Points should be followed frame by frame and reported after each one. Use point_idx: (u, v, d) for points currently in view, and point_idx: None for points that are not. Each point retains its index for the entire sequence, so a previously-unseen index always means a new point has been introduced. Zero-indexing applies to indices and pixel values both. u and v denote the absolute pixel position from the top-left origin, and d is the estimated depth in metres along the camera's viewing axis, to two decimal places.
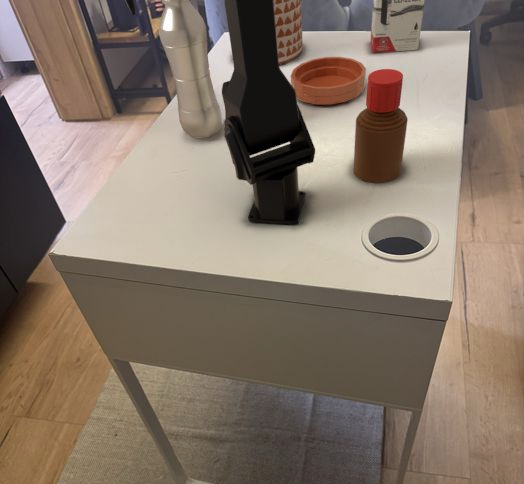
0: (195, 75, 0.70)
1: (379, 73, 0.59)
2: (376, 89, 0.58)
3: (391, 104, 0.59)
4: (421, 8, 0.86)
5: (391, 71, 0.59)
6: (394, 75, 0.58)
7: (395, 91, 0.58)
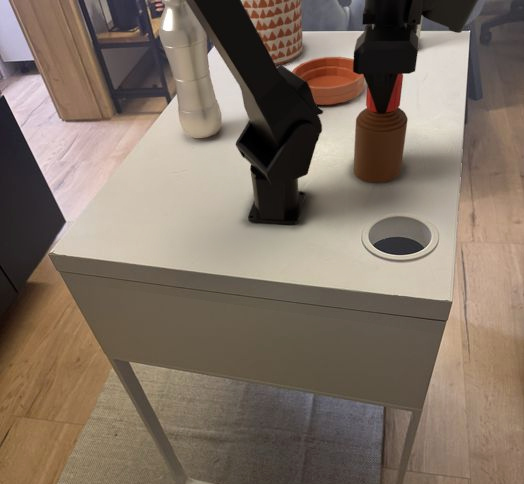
0: (195, 75, 0.70)
1: None
2: None
3: (391, 104, 0.59)
4: None
5: None
6: None
7: (395, 91, 0.58)
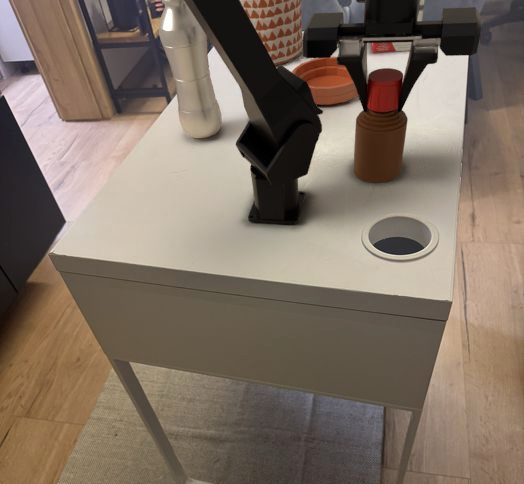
0: (195, 75, 0.70)
1: (378, 78, 0.58)
2: (400, 84, 0.58)
3: None
4: (421, 8, 0.86)
5: (375, 73, 0.59)
6: (385, 71, 0.59)
7: None
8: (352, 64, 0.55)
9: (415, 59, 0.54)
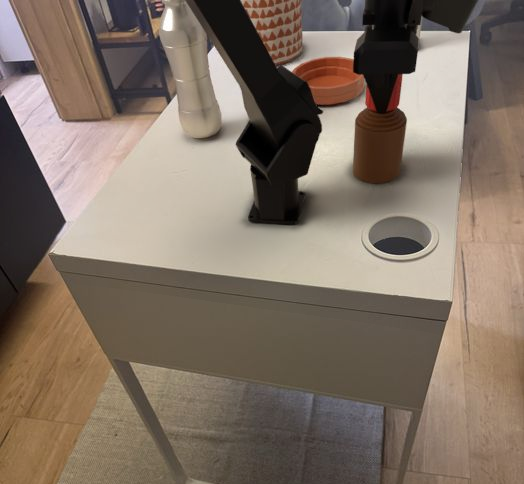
0: (195, 75, 0.70)
1: None
2: None
3: None
4: None
5: None
6: None
7: None
8: None
9: None
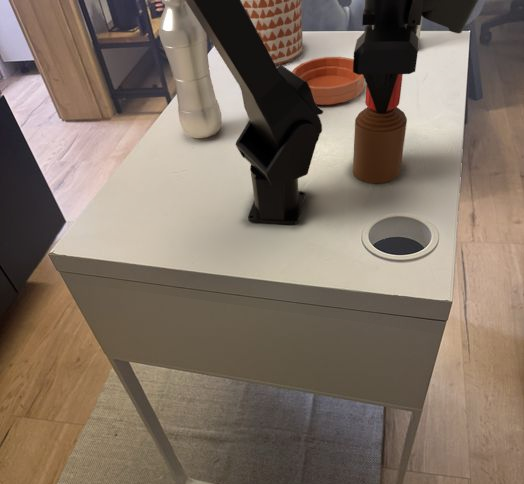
0: (195, 75, 0.70)
1: None
2: None
3: (367, 99, 0.60)
4: None
5: None
6: None
7: None
8: None
9: None
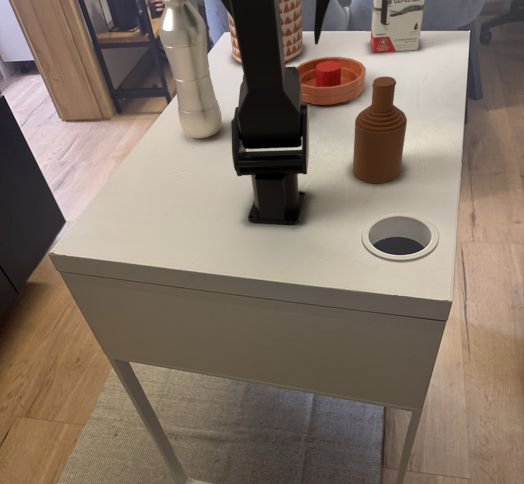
0: (195, 75, 0.70)
1: (322, 68, 0.81)
2: (338, 72, 0.81)
3: None
4: (421, 8, 0.86)
5: (321, 64, 0.82)
6: (328, 63, 0.82)
7: None
8: None
9: None
